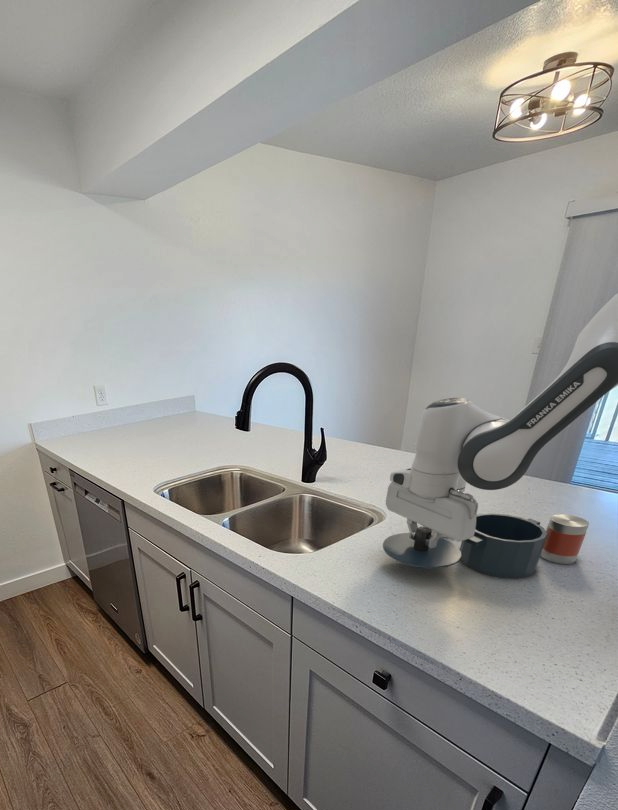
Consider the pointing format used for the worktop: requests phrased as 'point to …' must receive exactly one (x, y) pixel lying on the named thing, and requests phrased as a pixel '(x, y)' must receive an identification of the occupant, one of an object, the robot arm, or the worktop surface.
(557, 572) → the worktop surface
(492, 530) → the pot
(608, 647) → the worktop surface
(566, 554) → the can
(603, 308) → the robot arm
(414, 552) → the pot lid
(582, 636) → the worktop surface
